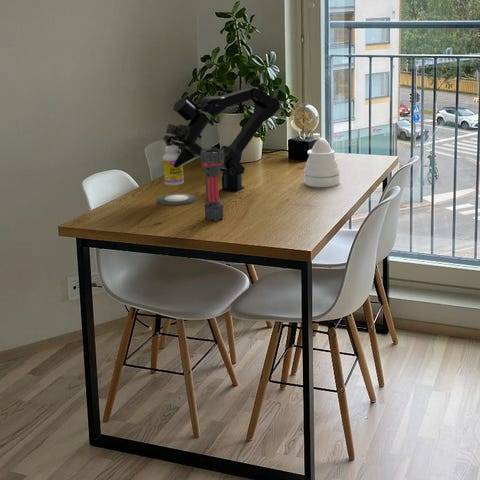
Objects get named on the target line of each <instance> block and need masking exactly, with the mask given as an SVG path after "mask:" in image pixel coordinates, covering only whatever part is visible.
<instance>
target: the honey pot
mask: <svg viewBox="0 0 480 480" xmlns="http://www.w3.org/2000/svg"><path fill="white" fill-rule="evenodd" d="M312 137H313V139H314V140H315V142H314V144H313V146H312V148H311V149H309V150H307V155H309V156H308V158H307V159H306V163H305V167H304V169H303V170H304V174H303V179H304V180H303V181H304V182H303V183H304V184H305V185H306V186H309V187H312V188H313V187H315V188H328V187H334V186H337V185H339V184H340V167H339V166H338V162H337V159H336V156H335V153H336V151H335V150H333V149H332V147H331V145H330V143H329V142H328V141H327V140H326V138H324V137H321V134H320V133H313V134H312Z"/></svg>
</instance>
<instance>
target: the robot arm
mask: <svg viewBox="0 0 480 480" xmlns="http://www.w3.org/2000/svg"><path fill="white" fill-rule="evenodd" d="M247 101H251V103H253V104H254V107H253V114H252V115H251V116H250V118H249V119H248V121H247V122H246V123H245V125H244V126H243V127H242V129H240V131H239V133H238V134H237V136H236V137H235V139H234V140H233V141H232V142H231V144H230V145H228V146H227V145H222V146H221V147H220V148H222V149H223V150H224V162H223V165H222V168H221V170H220V171H219V173H220V172H221V174H222V176H221V188H220V191H225V192H232V193H233V192H239V191H241V190H242V189H244V188H245V186H244V185H243V181H242V179H243V178H242V177H243V176H242V175H243V174H244V173H245V169H246V168H245V167H244V166H243V165H242V164H241V161H242V155H243V152H244V150H245V149H246V147H247V146H248V144H250V142H251V140H252V139H253V138H254V136H256V133H257V132H258V131H259V130H260V128H261V127H262V126H263V124H264V123H265V121H267V120H269V119H271V118H273V116H274V115H275V114H277V112H278V111H279V110H280V108H281V106H280V100H279V99H278V98H277V97H274V96H271V95H270V94H267V93H266V92H264V91H263V90H261V89H259V88H258V87H256V86H251V85H250V86H247V87H245V88H242V89H239V90H235V91H233V92H229V93H227V94H223V95H211V96H204V97H202V98H200V101H196V102H194V101H193V100H192V99H191V97H190V96H189V95H184V96H183V97H182V98H179V99H178V100H177V101H176V102H175V103H174V105H173V111H174V112H175V113H176V114H177V115H179V117H181V118H182V119H183V120H184V121H189V122H188V123H187V125H184V124H181V123H179V124H178V125H175V124H170V123H168V124H167V127H166V130H165V133H166V134H165V135H164V137H163V138H162V140H163V142H165V144H166V147H167V146H178V147H179V151H178V153H180V155H179V156H178V158H177V160H176V162H175V164H174V167H175V168H177V167H178V166H180V165H182V164H183V165H184V164H185V163H187V162H189V161H191V160H193V159H194V158H195V159H196V158H197V157H200V158H201V151H202V149H204V148H203V147H202V146H201V145H199V143H197V140H198V139H199V140H201V139H202V135H201V134H202V133H203V132H204V130H205V129H206V127H207V126H212V127H213V126H214V124H215V123H214V119H213V117H210V116H217V115H218V114H220V113H222V112H224V111H225V110H226V109H227V108H229V107H232V106H235V105H237V104H241V103H244V102H247ZM207 115H210V116H207Z"/></svg>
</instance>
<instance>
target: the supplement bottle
mask: <svg viewBox="0 0 480 480" xmlns="http://www.w3.org/2000/svg"><path fill="white" fill-rule="evenodd" d="M164 151H165V154H163V156H162V164H163V165H162V166H163V176H164V177H163V179H164V184H165V185H167V186H178V185H181V184H183V183H184V181H185V180H184V179H185V177H184V163H183V164H182V165H180V166H178V167H177V168H175V167H174V164H175V162H176V160H177V158H178V156H179V155H180V153H181V152H180V153H178V151H180V150H179V147H178V146H167V145H166V146H165V147H164Z"/></svg>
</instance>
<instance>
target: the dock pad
mask: <svg viewBox="0 0 480 480" xmlns="http://www.w3.org/2000/svg"><path fill="white" fill-rule="evenodd" d="M195 201H196V196H195V195H193V194H189V193H172V194H171V193H170V194H169V193H168V194H165V195H162V196H159V197H158V198H157V203H158V204H160V205H163V206H172V207H174V206H185V205H189V204H192V203H194V202H195Z"/></svg>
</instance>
